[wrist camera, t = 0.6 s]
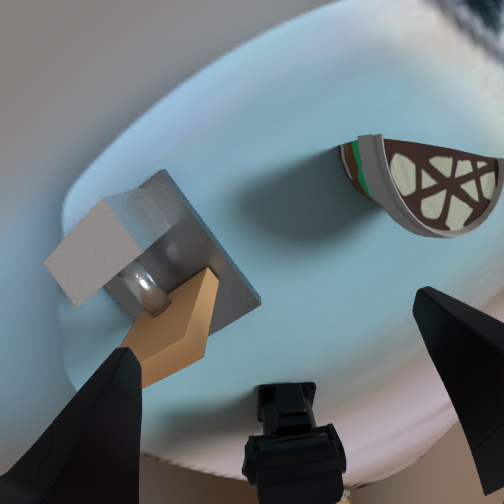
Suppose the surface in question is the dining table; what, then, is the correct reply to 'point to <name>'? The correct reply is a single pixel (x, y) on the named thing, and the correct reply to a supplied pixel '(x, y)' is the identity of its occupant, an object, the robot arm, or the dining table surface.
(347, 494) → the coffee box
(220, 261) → the bearing base
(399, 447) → the dining table surface
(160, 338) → the tan trapezoid block
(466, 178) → the food container
